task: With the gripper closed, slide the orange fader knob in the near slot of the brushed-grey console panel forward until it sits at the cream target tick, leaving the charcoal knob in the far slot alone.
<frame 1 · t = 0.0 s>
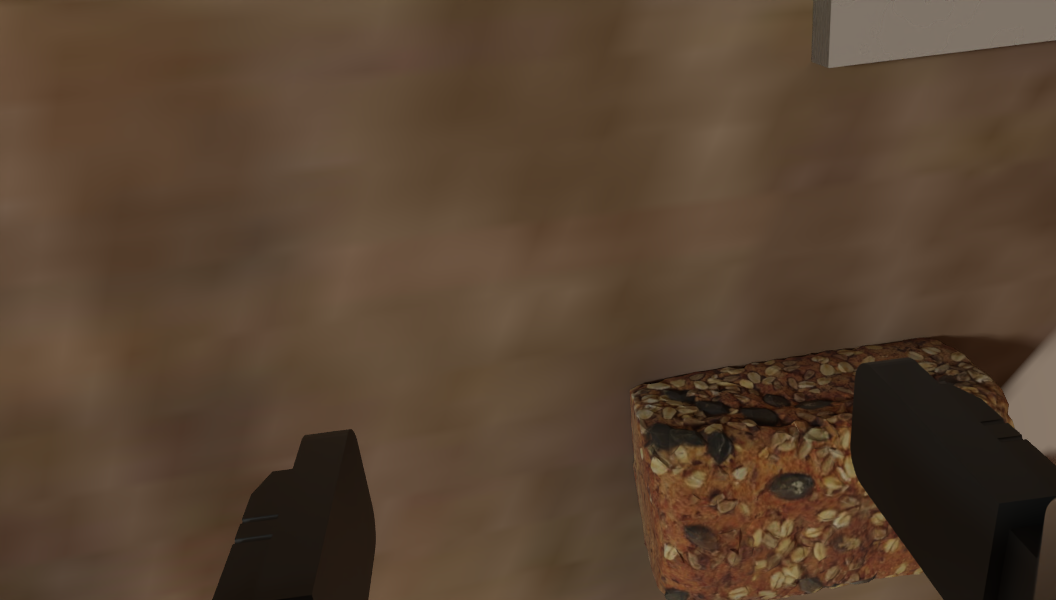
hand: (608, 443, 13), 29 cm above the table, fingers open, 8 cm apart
bread: (779, 422, 49), on the table
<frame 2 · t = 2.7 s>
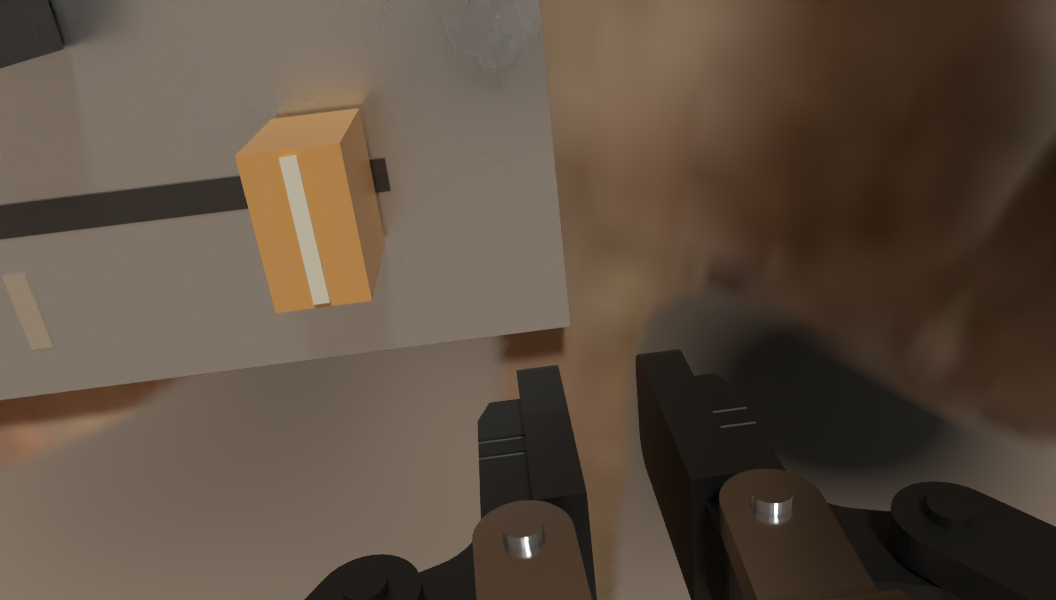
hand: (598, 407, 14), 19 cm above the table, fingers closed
console panel: (130, 109, 30), on the table
fader knob: (319, 206, 27), point 5 cm above the table, slide at 0.0 cm
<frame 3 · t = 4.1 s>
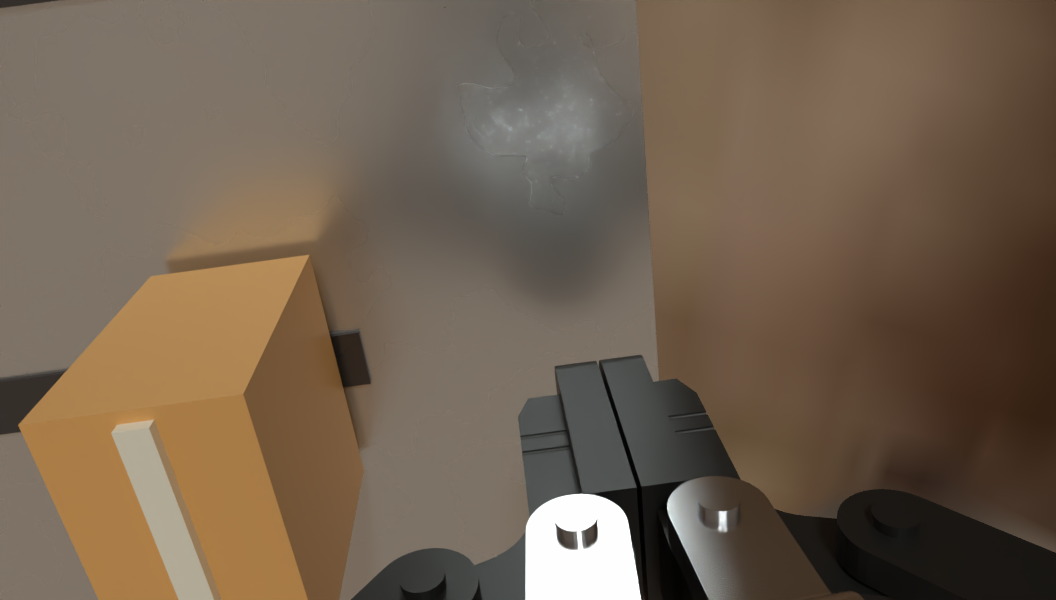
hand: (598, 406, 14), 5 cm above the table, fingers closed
fader knob: (230, 456, 14), point 5 cm above the table, slide at 0.0 cm
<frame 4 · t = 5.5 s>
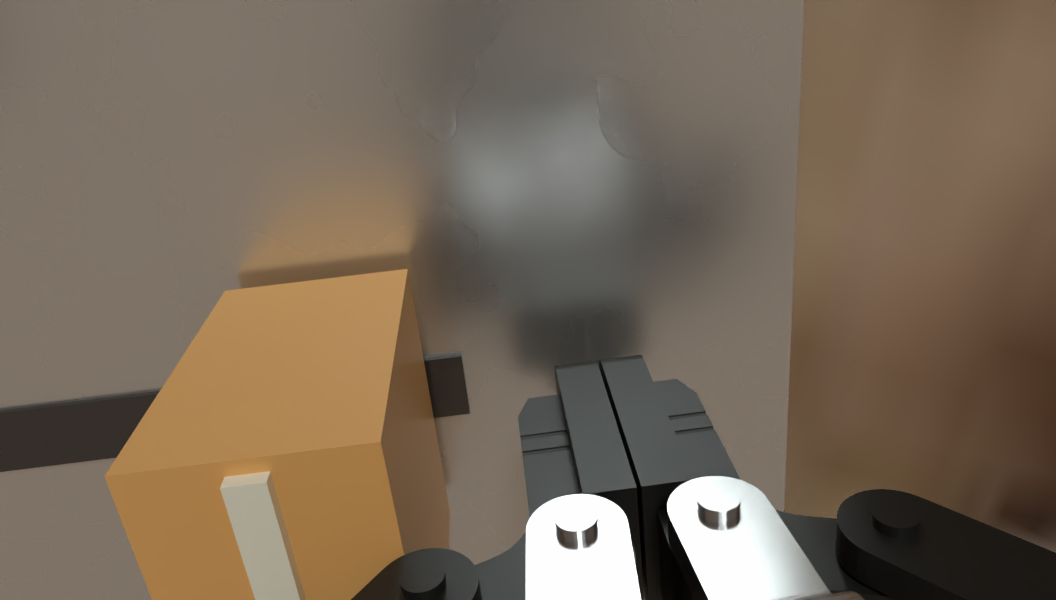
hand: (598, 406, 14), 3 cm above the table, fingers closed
fader knob: (323, 502, 12), point 5 cm above the table, slide at 0.1 cm, touching gripper
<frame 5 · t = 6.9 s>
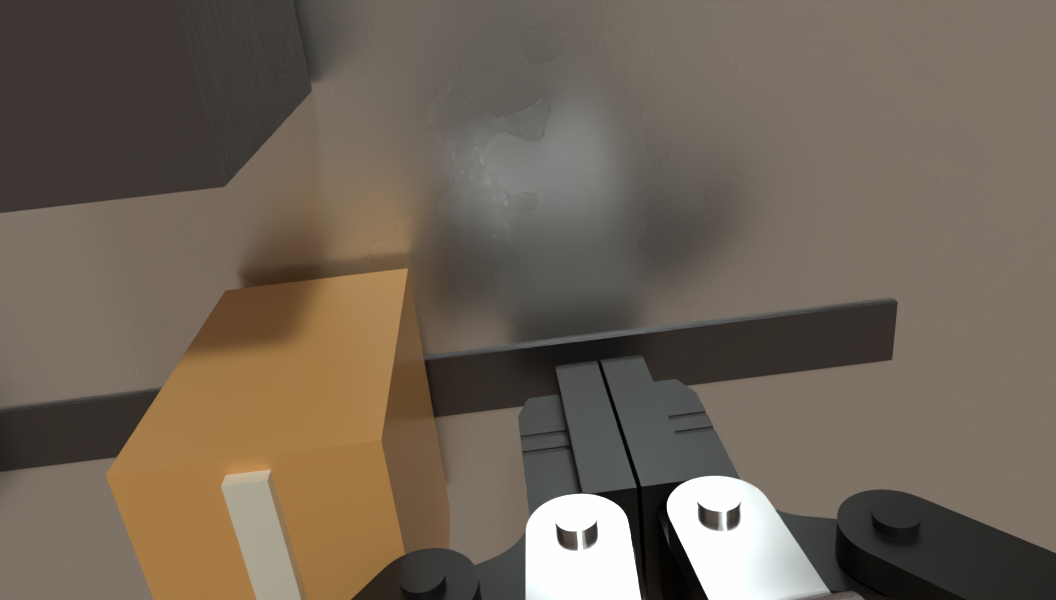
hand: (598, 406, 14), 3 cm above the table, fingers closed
console panel: (387, 198, 15), on the table
fader knob: (323, 501, 12), point 5 cm above the table, slide at 8.1 cm, touching gripper
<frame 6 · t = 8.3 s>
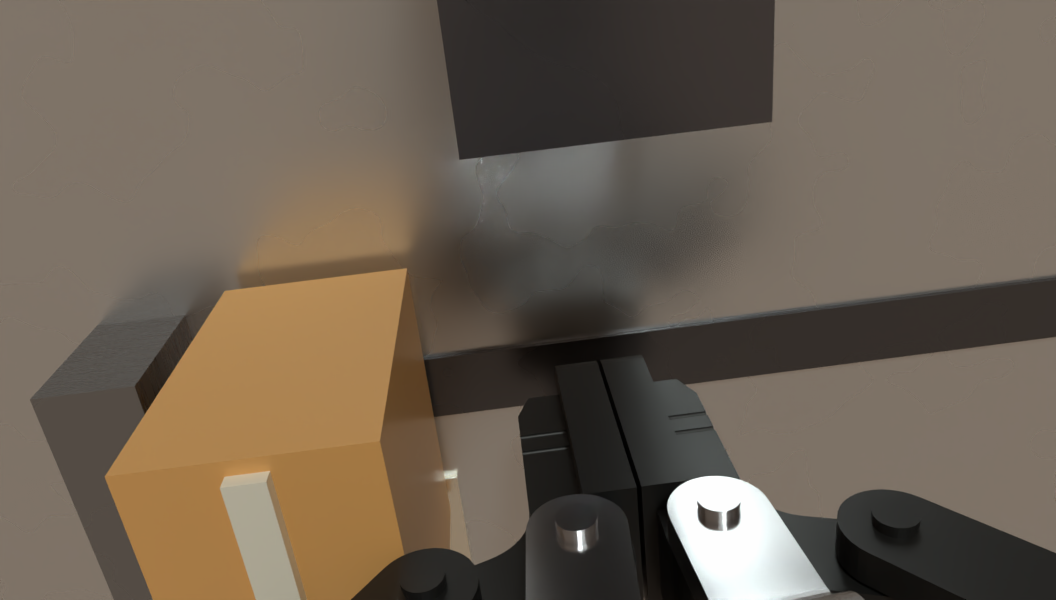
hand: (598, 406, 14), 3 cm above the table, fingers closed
console panel: (661, 164, 16), on the table
fader knob: (323, 501, 12), point 5 cm above the table, slide at 13.3 cm, touching gripper
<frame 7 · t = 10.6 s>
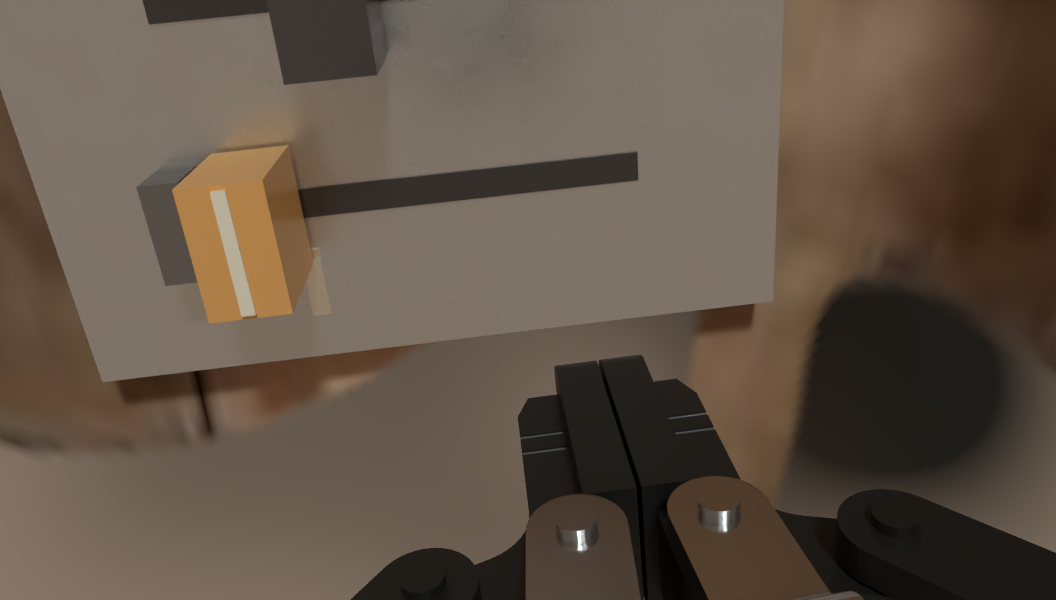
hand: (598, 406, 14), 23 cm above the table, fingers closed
console panel: (412, 107, 34), on the table
fader knob: (249, 231, 31), point 5 cm above the table, slide at 13.4 cm
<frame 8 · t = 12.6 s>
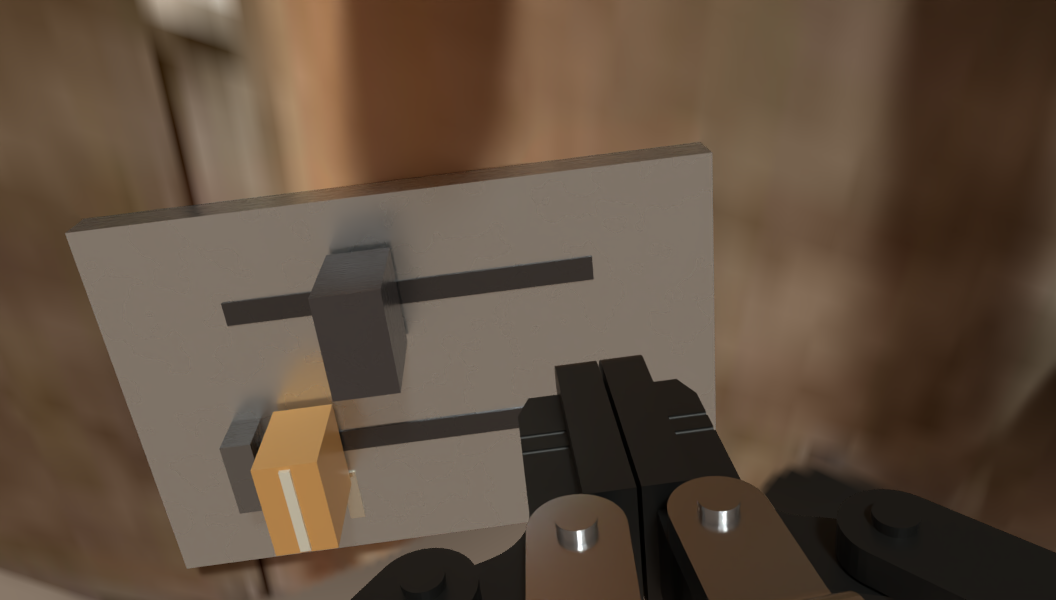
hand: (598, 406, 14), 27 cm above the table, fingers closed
console panel: (427, 360, 44), on the table
fader knob: (304, 478, 40), point 5 cm above the table, slide at 13.4 cm
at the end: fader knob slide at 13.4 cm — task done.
